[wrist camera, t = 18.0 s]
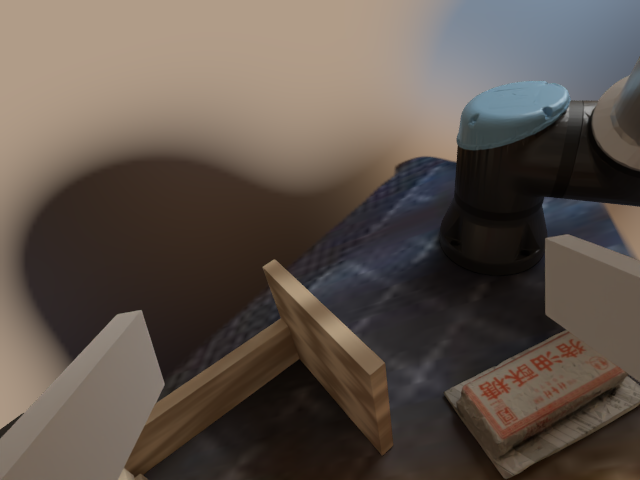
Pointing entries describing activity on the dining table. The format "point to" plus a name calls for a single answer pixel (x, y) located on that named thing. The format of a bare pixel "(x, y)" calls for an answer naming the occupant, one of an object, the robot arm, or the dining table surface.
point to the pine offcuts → (130, 476)
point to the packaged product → (542, 401)
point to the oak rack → (263, 365)
